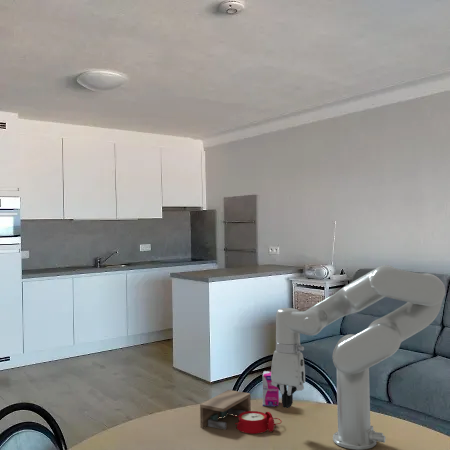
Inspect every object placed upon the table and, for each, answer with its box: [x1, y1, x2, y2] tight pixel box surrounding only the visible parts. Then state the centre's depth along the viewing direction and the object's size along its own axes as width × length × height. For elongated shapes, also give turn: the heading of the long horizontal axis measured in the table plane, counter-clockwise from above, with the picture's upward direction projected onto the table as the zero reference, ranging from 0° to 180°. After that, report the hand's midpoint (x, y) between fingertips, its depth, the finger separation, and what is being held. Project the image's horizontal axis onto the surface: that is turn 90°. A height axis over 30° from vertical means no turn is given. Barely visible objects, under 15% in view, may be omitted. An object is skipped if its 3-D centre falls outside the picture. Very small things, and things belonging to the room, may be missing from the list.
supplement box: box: [262, 370, 280, 407], centre depth 180 cm, size 6×6×12 cm
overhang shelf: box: [199, 389, 252, 431], centre depth 163 cm, size 9×18×8 cm, turn 149°
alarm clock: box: [233, 410, 283, 435], centre depth 157 cm, size 10×6×15 cm
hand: (287, 406), depth 152 cm, fingers closed
